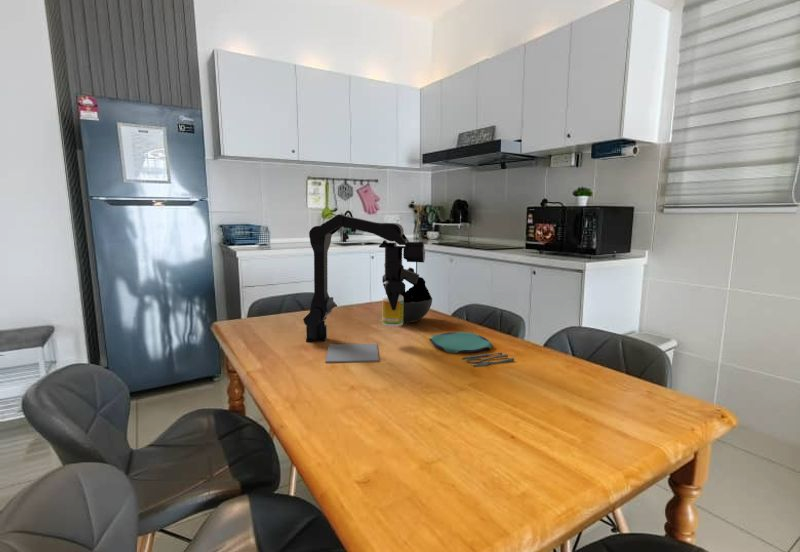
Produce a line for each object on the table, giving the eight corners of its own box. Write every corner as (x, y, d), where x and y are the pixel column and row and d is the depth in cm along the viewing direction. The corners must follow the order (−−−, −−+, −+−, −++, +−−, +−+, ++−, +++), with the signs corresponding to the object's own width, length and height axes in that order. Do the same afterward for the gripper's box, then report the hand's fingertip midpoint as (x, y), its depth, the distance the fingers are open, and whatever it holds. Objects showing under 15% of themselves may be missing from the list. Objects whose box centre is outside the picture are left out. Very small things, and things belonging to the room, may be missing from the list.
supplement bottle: (403, 327, 140) (403, 289, 138) (381, 326, 140) (382, 288, 138) (403, 321, 147) (403, 285, 145) (382, 321, 147) (383, 284, 145)
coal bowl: (437, 326, 167) (439, 279, 164) (387, 329, 163) (388, 281, 160) (424, 314, 186) (425, 272, 183) (379, 316, 182) (379, 273, 179)
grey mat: (325, 362, 126) (325, 361, 126) (328, 345, 142) (328, 344, 142) (379, 361, 128) (379, 359, 128) (376, 344, 143) (376, 343, 143)
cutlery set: (470, 335, 157) (471, 329, 157) (520, 363, 129) (521, 356, 129) (421, 340, 150) (421, 334, 150) (463, 372, 122) (463, 364, 122)
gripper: (421, 265, 132) (420, 313, 134) (413, 258, 150) (412, 301, 153) (386, 264, 131) (385, 314, 133) (382, 258, 149) (382, 301, 152)
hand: (392, 307), depth 143 cm, fingers closed on supplement bottle, 7 cm apart
